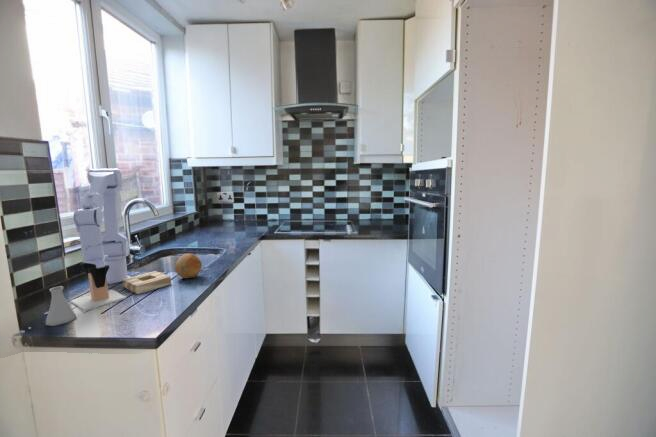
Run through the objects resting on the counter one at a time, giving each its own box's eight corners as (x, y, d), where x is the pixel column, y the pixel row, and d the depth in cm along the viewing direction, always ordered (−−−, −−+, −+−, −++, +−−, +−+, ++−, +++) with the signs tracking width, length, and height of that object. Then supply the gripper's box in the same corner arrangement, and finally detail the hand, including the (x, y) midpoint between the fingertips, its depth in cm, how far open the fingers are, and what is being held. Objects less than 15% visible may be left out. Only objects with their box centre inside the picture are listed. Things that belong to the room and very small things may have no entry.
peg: (91, 298, 107) (88, 273, 105) (105, 295, 110) (102, 270, 108) (94, 301, 104) (91, 275, 103) (109, 297, 107) (105, 272, 106)
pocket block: (123, 287, 119) (122, 279, 118) (156, 278, 128) (155, 270, 128) (137, 294, 112) (136, 286, 111) (171, 284, 121) (170, 276, 121)
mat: (71, 302, 106) (71, 300, 106) (112, 290, 115) (112, 289, 115) (83, 311, 98) (83, 309, 98) (126, 298, 108) (126, 296, 108)
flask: (81, 318, 94) (77, 286, 92) (51, 329, 88) (45, 294, 86) (70, 313, 97) (66, 282, 96) (40, 323, 91) (35, 290, 90)
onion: (173, 283, 122) (171, 258, 121) (179, 275, 132) (177, 251, 130) (200, 280, 124) (198, 256, 123) (203, 273, 134) (202, 250, 133)
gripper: (113, 245, 102) (118, 285, 104) (99, 239, 111) (104, 276, 114) (86, 250, 97) (92, 292, 99) (74, 243, 106) (80, 282, 108)
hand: (97, 284), depth 106 cm, fingers open, 7 cm apart
